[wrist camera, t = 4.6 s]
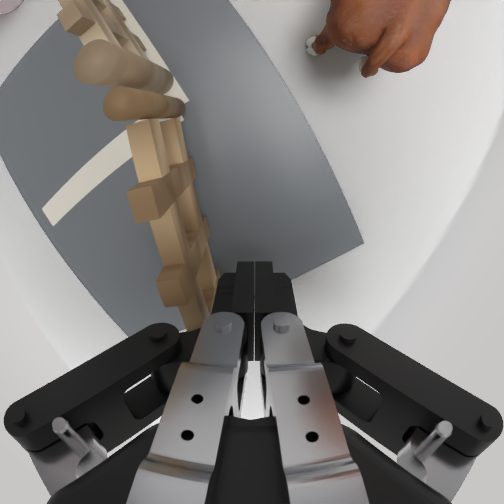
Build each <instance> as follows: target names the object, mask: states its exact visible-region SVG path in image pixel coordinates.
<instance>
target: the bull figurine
mask: <svg viewBox="0 0 504 504" xmlns="http://www.w3.org/2000/svg"><path fill="white" fill-rule="evenodd" d="M450 1H451V0H331V7H330V10H329V12H328V14H327V19H326V25H325V27H324V29H323V30H322V32H321V34H319V35H318V36H316V35H312V36H310V37H309V38H308V39H307V41H306V45H307V46H308V48H307V53H309V54H311V55H314V56H317V55H321V54H324V53H325V52H326V50H328V49H331V48H333V47H334V45H336V46H338V47H340V48H342V49H344V50H346V51H349V52H353V53H362V54H366V55H367V56H365V57H362V58H361V59H360V60H359V61H358V66H359V69H360V72H361V75H362V76H363V77H365V78H367V77H369V76H373V75H375V74H376V73H377V72H378V68H379V67H380V68H382V69H384V70H387V71H389V72H395V73H402V72H406V71H409V70H410V69H412V68H414V67H416V66H418V65H419V64H421V63H422V62H423V61H424V60H425V59H426V57H427V55H428V53H429V51H430V47H431V44H432V40H433V36H434V34H435V32H436V30H437V28H438V27H439V26H440V24H441V22H442V20H443V18H444V15H445V14H446V12H447V10H448V7H449V4H450Z"/></svg>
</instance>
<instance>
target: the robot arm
mask: <svg viewBox="0 0 504 504" xmlns="http://www.w3.org/2000/svg"><path fill="white" fill-rule="evenodd" d="M248 361H254V261H237V267H236V273H224V274H223V275H222V276H221V277H220V278H219V279H218V284H217V289H216V294H215V298H214V303H213V307H212V312H211V315H210V316H208V317H207V318H206V319H205V320H204V322H203V324H202V327H201V328H199V329H196V330H193V331H188V332H182V333H179V331H178V329H177V328H176V327H175V326H174V325H172V324H169V323H155V324H151V325H149V326H147V327H145V328H144V329H142V330H140V331H138V332H137V333H135V334H133V335H132V336H130V337H128V338H126V339H125V340H123V341H121V342H120V343H118V344H116V345H114V346H113V347H111V348H109V349H107V350H106V351H104V352H102V353H101V354H99V355H97V356H95V357H94V358H92V359H90V360H88V361H87V362H85V363H83V364H81V365H80V366H78V367H76V368H74V369H73V370H71V371H69V372H67V373H66V374H64V375H63V376H60V377H59V378H57V379H56V380H53V381H52V382H50V383H48V384H46V385H45V386H43V387H41V388H39V389H37V390H36V391H34V392H32V393H30V394H29V395H27V396H25V397H23V398H21V399H20V400H18V401H16V402H14V403H13V404H12V405H10V407H9V408H8V409H7V411H6V413H5V416H4V425H5V428H6V430H7V431H8V433H9V434H10V435H11V436H12V437H13V438H14V439H15V440H17V441H18V442H19V443H20V444H21V446H22V447H23V448H24V449H25V450H26V451H27V452H28V453H29V455H30V457H31V459H32V461H33V463H34V465H35V467H36V469H37V471H38V473H39V475H40V477H41V479H42V481H43V483H44V484H45V486H46V488H47V490H48V491H49V493H50V495H51V498H50V499H49V501H48V502H47V504H452V503H451V501H452V499H453V498H454V496H455V495H456V493H457V491H458V490H459V488H460V487H461V485H462V483H463V481H464V480H465V478H466V476H467V474H468V472H469V471H470V469H471V467H472V465H473V463H474V461H475V459H476V457H477V456H478V455H480V454H481V453H482V452H483V451H484V450H485V449H486V448H487V447H488V446H489V445H491V444H492V443H493V442H494V441H495V440H496V439H497V438H498V437H499V436H500V434H501V432H502V429H503V420H502V417H501V415H500V413H499V412H498V410H497V409H496V408H494V407H493V406H491V405H490V404H488V403H486V402H484V401H483V400H481V399H479V398H477V397H476V396H474V395H472V394H471V393H469V392H467V391H465V390H464V389H462V388H460V387H459V386H457V385H455V384H454V383H452V382H450V381H448V380H447V379H445V378H443V377H442V376H440V375H438V374H437V373H435V372H433V371H431V370H430V369H428V368H426V367H425V366H423V365H421V364H420V363H418V362H416V361H415V360H413V359H411V358H410V357H408V356H406V355H405V354H403V353H401V352H399V351H398V350H396V349H394V348H393V347H391V346H389V345H388V344H386V343H384V342H383V341H381V340H379V339H378V338H376V337H374V336H373V335H371V334H369V333H368V332H366V331H364V330H363V329H361V328H359V327H357V326H355V325H352V324H338V325H335V326H333V327H331V328H330V329H329V330H328V332H327V333H324V332H319V331H314V330H311V329H309V328H307V327H305V326H304V325H303V323H302V321H301V319H300V318H299V317H298V316H297V310H296V304H295V299H294V294H293V288H292V283H291V279H290V278H289V277H288V276H287V275H286V273H273V264H272V261H255V361H260V382H261V391H262V400H263V409H264V418H260V419H255V420H247V419H243V418H241V410H242V403H243V396H244V389H245V382H246V373H247V369H248ZM150 374H151V376H150V377H149V378H147V379H146V380H144V381H143V382H141V383H140V384H138V385H137V386H135V387H134V388H132V389H131V390H129V391H128V392H126V393H125V391H126V390H127V389H128V388H130V387H131V386H133V385H134V384H136V383H137V382H139V381H140V380H142V379H144V378H145V377H147V376H148V375H150ZM356 377H358V378H359V379H361V380H362V381H364V382H365V383H366V384H368V385H369V386H371V387H372V388H374V389H375V390H377V391H378V392H379V393H380V394H379V393H378V392H376V391H374V390H373V389H372V388H370V387H369V386H367V385H366V384H364V383H363V382H361V381H360V380H359V379H357V378H356ZM124 393H125V394H124ZM338 413H339V414H341V415H342V416H343V417H345V418H346V419H347V420H349V421H350V422H351V423H353V424H354V425H355V426H357V427H358V428H360V429H361V430H362V431H363V432H365V433H366V434H368V435H369V436H370V437H372V438H373V439H375V440H376V441H377V442H379V443H380V444H382V445H383V446H384V447H386V448H387V449H389V450H390V451H392V452H393V453H395V454H396V455H397V463H396V462H395V461H393V460H392V459H391V458H389V457H388V456H387V455H385V454H384V453H383V452H381V451H380V450H379V449H377V448H376V447H375V446H374V445H372V444H371V443H370V442H368V441H367V440H366V439H365V438H363V437H362V436H361V435H360V434H358V433H357V432H356V431H354V430H352V429H350V428H349V427H347V426H345V425H343V424H341V422H340V419H339V416H338ZM160 416H162V417H161V420H160V423H158V424H156V425H154V426H152V427H150V428H149V429H147V430H146V431H144V432H142V433H141V434H140V435H138V436H137V437H136V438H135V439H133V440H132V441H131V442H129V443H128V444H126V445H125V446H124V447H122V448H121V449H119V450H118V451H117V452H115V453H114V454H112V455H111V456H110V457H109V458H107V453H108V452H109V451H111V450H112V449H114V448H115V447H117V446H118V445H120V444H121V443H123V442H124V441H126V440H127V439H129V438H130V437H132V436H133V435H135V434H136V433H138V432H139V431H141V430H142V429H143V428H145V427H146V426H148V425H149V424H151V423H152V422H153V421H155V420H156V419H158V418H159V417H160Z"/></svg>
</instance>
